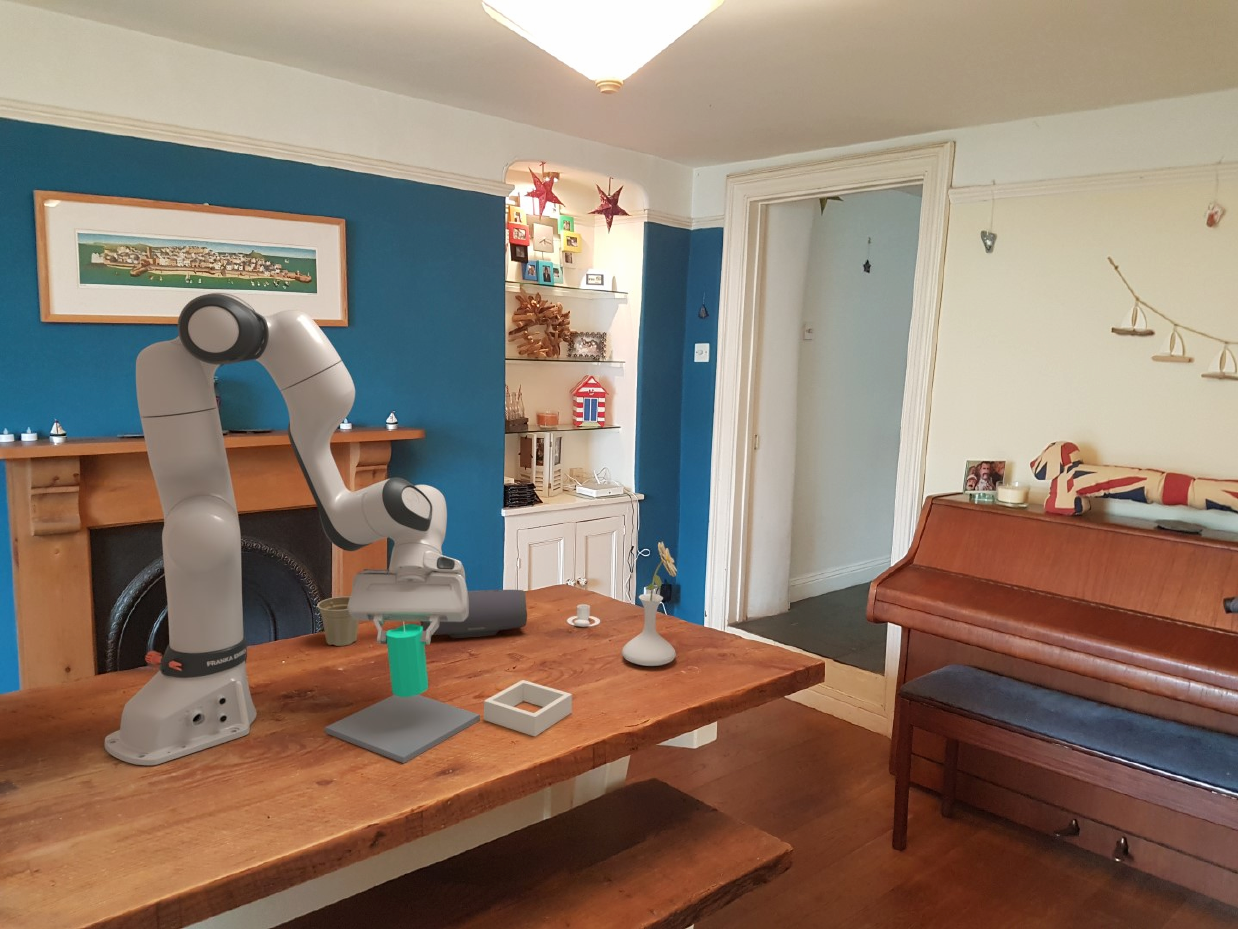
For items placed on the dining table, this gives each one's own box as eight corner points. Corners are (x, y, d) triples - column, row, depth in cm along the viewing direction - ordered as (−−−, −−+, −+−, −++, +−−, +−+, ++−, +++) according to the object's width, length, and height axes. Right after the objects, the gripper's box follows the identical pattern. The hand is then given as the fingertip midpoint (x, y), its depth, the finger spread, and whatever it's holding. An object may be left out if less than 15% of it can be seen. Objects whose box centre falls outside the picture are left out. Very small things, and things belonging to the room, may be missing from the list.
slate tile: (403, 763, 127) (403, 757, 127) (325, 732, 136) (324, 727, 136) (479, 720, 142) (479, 714, 142) (404, 695, 151) (404, 690, 151)
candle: (427, 679, 142) (420, 613, 140) (430, 693, 137) (423, 625, 135) (391, 685, 140) (384, 618, 138) (393, 699, 135) (385, 630, 133)
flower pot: (334, 653, 170) (334, 613, 169) (309, 642, 176) (308, 603, 175) (372, 641, 178) (372, 602, 177) (347, 631, 184) (346, 593, 182)
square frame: (534, 736, 137) (535, 717, 136) (483, 720, 142) (484, 700, 142) (571, 712, 146) (572, 694, 146) (522, 697, 152) (522, 679, 151)
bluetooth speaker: (519, 623, 192) (519, 582, 191) (527, 637, 183) (528, 594, 182) (419, 631, 185) (419, 588, 183) (423, 646, 176) (423, 601, 175)
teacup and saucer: (585, 632, 189) (585, 615, 188) (558, 624, 193) (558, 608, 193) (606, 622, 196) (607, 605, 196) (579, 615, 200) (580, 599, 200)
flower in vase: (659, 675, 164) (664, 554, 160) (611, 662, 170) (614, 545, 166) (688, 656, 175) (693, 542, 171) (642, 644, 181) (646, 534, 177)
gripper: (351, 560, 142) (335, 634, 133) (470, 561, 142) (462, 635, 134) (359, 577, 147) (344, 650, 138) (473, 579, 148) (466, 651, 139)
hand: (403, 643), depth 136 cm, fingers closed on candle, 6 cm apart
